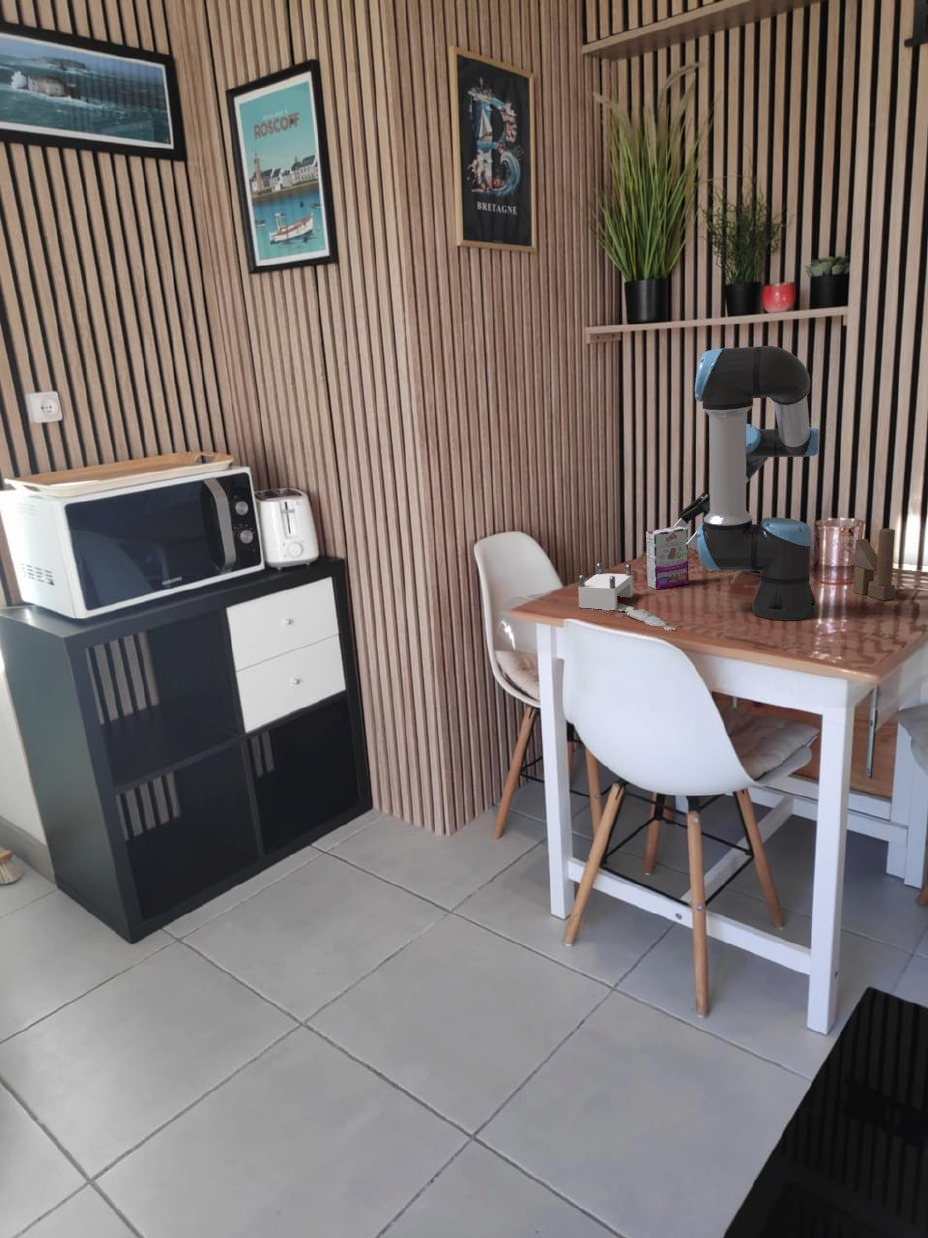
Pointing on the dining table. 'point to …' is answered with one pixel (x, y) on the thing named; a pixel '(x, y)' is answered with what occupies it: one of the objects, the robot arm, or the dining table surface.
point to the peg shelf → (604, 589)
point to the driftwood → (642, 616)
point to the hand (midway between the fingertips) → (679, 542)
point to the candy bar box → (667, 557)
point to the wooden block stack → (875, 567)
